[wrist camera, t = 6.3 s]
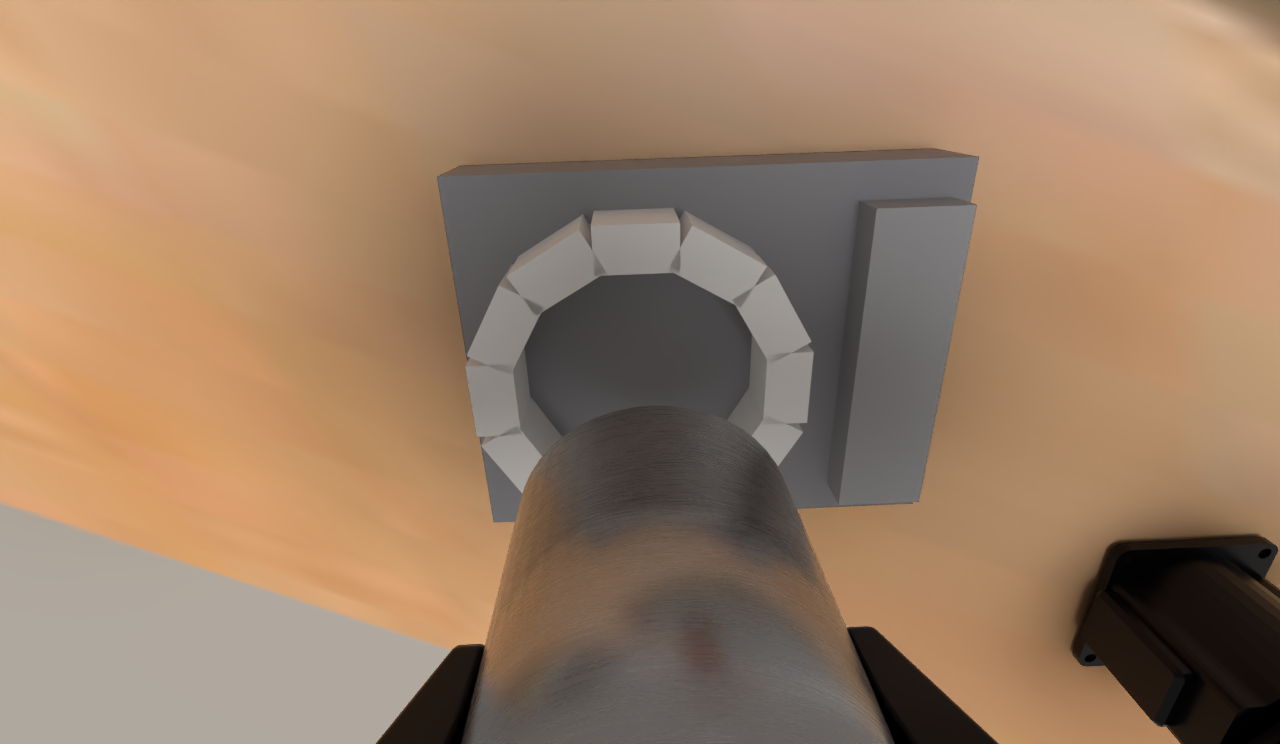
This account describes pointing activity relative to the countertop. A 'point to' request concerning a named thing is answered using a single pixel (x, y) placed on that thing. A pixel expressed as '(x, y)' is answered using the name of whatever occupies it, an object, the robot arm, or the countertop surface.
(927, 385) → the camera body
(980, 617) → the countertop surface
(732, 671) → the lens
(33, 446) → the countertop surface
